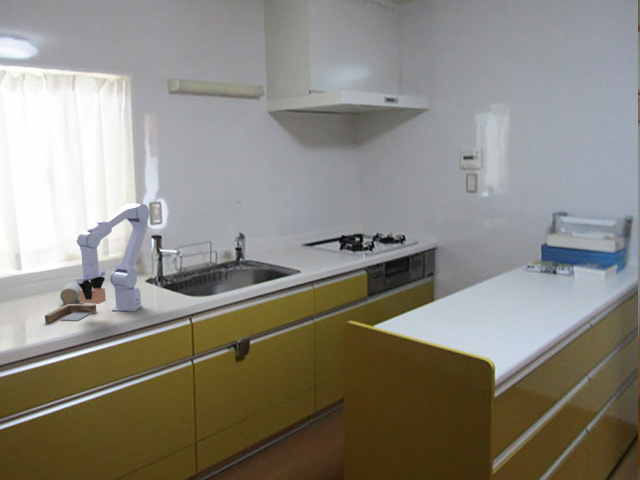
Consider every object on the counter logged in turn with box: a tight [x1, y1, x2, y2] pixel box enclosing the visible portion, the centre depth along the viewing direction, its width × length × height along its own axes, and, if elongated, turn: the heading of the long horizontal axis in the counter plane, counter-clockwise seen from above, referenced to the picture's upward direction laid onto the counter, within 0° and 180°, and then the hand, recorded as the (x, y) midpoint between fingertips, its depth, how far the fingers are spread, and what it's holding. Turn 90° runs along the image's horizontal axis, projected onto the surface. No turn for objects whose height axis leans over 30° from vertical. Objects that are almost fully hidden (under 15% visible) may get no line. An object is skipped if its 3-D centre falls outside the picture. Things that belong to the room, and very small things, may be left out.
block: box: [79, 287, 107, 305], centre depth 214 cm, size 8×4×5 cm, turn 76°
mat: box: [60, 312, 92, 322], centre depth 217 cm, size 7×10×1 cm
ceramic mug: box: [59, 282, 81, 305], centre depth 238 cm, size 11×8×8 cm
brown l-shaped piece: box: [44, 303, 97, 324], centre depth 217 cm, size 12×16×3 cm
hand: (92, 297), depth 214 cm, fingers closed on block, 4 cm apart
